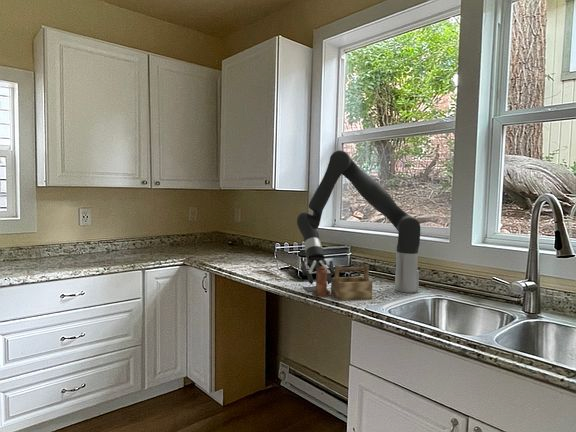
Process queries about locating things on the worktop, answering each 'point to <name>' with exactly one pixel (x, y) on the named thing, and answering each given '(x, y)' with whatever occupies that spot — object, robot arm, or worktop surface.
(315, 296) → the keeper
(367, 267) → the toolbox
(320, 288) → the reddish brown cylinder
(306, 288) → the pad
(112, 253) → the worktop surface
